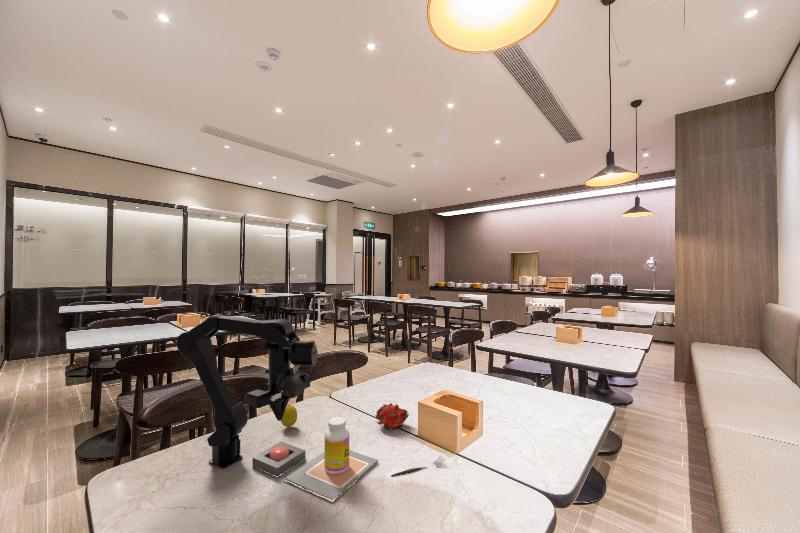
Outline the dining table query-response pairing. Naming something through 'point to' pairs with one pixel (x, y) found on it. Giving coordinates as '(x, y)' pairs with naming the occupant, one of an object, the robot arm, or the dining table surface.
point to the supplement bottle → (336, 446)
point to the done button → (279, 453)
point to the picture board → (331, 475)
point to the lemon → (289, 416)
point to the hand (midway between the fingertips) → (279, 420)
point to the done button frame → (279, 467)
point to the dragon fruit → (391, 416)
